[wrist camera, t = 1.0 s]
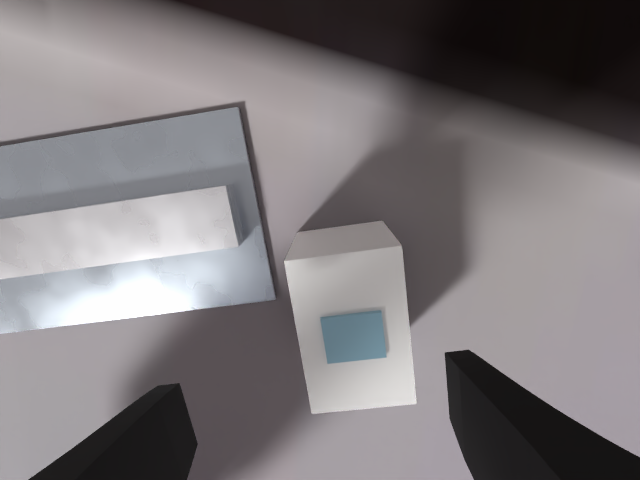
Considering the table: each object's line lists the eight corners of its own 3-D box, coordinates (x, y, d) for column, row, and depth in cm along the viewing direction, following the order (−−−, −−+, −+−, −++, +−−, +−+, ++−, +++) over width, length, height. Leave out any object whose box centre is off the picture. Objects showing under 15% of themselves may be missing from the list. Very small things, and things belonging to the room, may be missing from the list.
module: (395, 340, 19) (417, 407, 14) (316, 349, 19) (311, 417, 14) (382, 220, 17) (403, 247, 12) (297, 232, 18) (283, 262, 13)
